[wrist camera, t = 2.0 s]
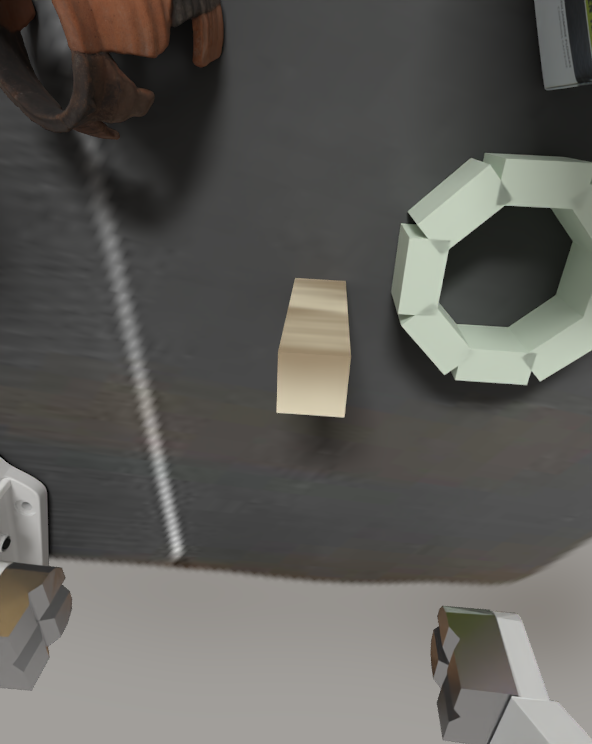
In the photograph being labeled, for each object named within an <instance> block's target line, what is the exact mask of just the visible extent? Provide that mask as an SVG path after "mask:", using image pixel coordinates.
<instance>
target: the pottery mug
mask: <svg viewBox="0 0 592 744" xmlns="http://www.w3.org/2000/svg"><path fill="white" fill-rule="evenodd" d="M52 3H53V5H54V7H55V9H56V11H57V14H58V16H59V19H60V22H61V24H62V27H63V30H64V32H65V35H66V38H67V42H68V46H69V48H70V50H71V53H72V68H73V80H74V83H73V92H72V96H71V99H70V103H69V105H68V106H67V108H66V109H65V110H64V111H63V110H62V107H61V106H60V105H59V104H58V103H57V101H56V100H55V99H54V98H53V97H52V96H51V95H50V94H49V92H48V91H47V90H46V89H45V88H44V87H43V85H42V84H41V82H40V81H39V80H38V78H37V77H36V75H35V73H34V70H33V68H32V66H31V64H30V60H29V58H28V54H27V51H26V48H25V46H24V42H23V38H22V35H21V33H20V31H21V30H22V28H24V27H26V26H27V25H28V24H29V22H30V21H31V20H32V19H33V18H34V17H35V9H34V6H33V3H32V1H31V0H0V88H1V89H2V90H3V91H4V93H5V94H6V95H7V96H8V98H9V99H10V100H11V101H12V102H13V103H14V104H15V105H16V106H17V107H19V108H20V109H21V111H22V112H23V113H24V114H25V115H26V116H27V117H29V118H30V120H31V121H33V122H35V123H37V124H39V125H40V126H42V127H43V128H45V129H47V130H49V131H53V132H58V133H61V132H70V131H71V130H72V129H74V130H76V131H78V132H81V133H84V134H88V135H91V136H94V137H98V138H103V139H116V140H117V139H119V138H120V135H119V133H118V132H117V131H116V130H113V129H111V128H109V127H107V126H106V125H105V124H104V123H103V122H107V123H121V122H123V121H126V120H127V119H129V118H131V117H141V116H144V115H145V114H146V113H147V112H148V110H149V109H150V107H151V105H152V104H153V102H154V98H155V95H154V93H153V92H152V91H150V90H148V89H144V88H137V87H136V86H135V84H134V82H133V81H131V80H130V79H129V78H128V77H127V76H126V75H125V74H124V73H123V72H122V71H121V70H120V69H119V67H118V66H117V64H116V62H115V61H114V60H113V58H112V57H111V56H110V54H109V53H110V52H114V53H118V54H131V55H136V56H144V57H148V58H156V57H157V56H158V55H159V54H161V53H162V52H164V50H165V49H166V48H167V46H168V44H169V37H170V27H177V26H179V25H181V24H182V23H183V22H185V21H186V20H188V19H191V18H192V27H193V63H194V64H195V65H196V66H198V67H204V66H207V65H208V64H209V63H210V62H212V61H214V60H215V59H217V58H219V57H220V55H221V52H222V45H223V18H222V9H221V5H220V0H52ZM102 121H103V122H102Z"/></svg>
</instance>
